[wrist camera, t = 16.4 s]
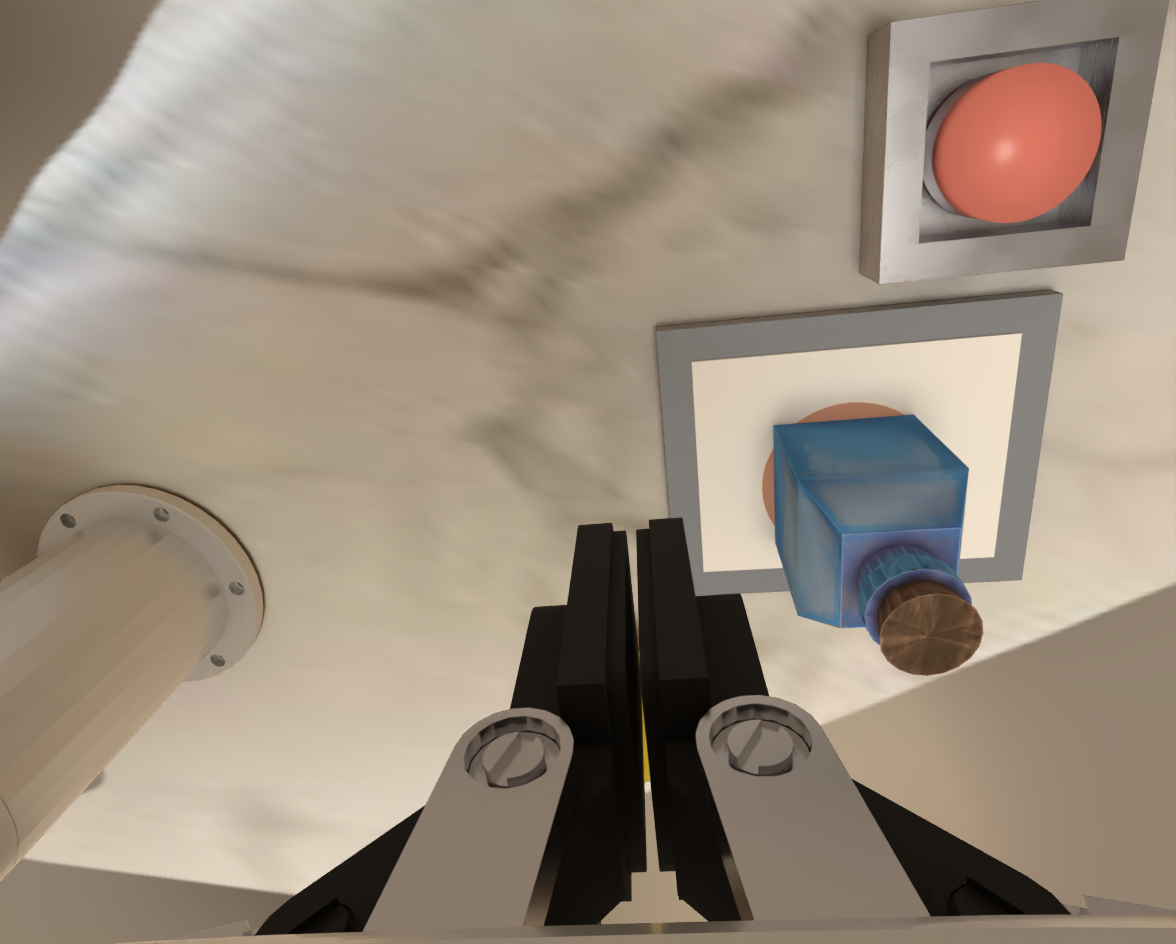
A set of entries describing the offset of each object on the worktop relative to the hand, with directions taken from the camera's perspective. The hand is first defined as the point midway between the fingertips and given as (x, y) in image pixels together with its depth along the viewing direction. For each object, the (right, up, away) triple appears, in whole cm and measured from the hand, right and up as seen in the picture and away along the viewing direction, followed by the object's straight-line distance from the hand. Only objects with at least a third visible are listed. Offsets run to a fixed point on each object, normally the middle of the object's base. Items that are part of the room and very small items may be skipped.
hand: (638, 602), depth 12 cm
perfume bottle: (+11, +2, +22) cm, 25 cm away
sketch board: (+11, +3, +23) cm, 26 cm away
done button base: (+15, +15, +17) cm, 27 cm away
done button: (+15, +15, +16) cm, 27 cm away
